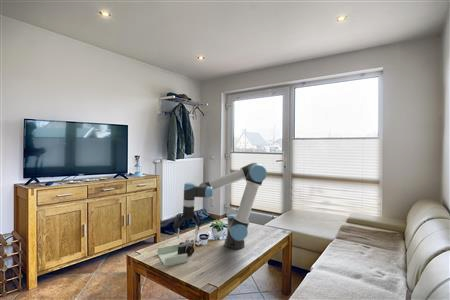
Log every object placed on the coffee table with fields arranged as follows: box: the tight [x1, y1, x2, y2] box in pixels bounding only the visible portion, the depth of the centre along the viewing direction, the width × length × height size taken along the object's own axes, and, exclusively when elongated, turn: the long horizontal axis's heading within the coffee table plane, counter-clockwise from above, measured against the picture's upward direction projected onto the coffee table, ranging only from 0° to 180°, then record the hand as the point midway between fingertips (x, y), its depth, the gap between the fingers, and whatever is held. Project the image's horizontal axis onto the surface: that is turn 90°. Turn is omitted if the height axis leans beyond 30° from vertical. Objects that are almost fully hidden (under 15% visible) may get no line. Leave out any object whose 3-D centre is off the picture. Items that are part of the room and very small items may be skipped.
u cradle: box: [157, 243, 188, 268], centre depth 157 cm, size 14×18×5 cm
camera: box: [178, 239, 195, 256], centre depth 165 cm, size 13×8×9 cm, turn 139°
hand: (187, 236), depth 165 cm, fingers open, 13 cm apart
